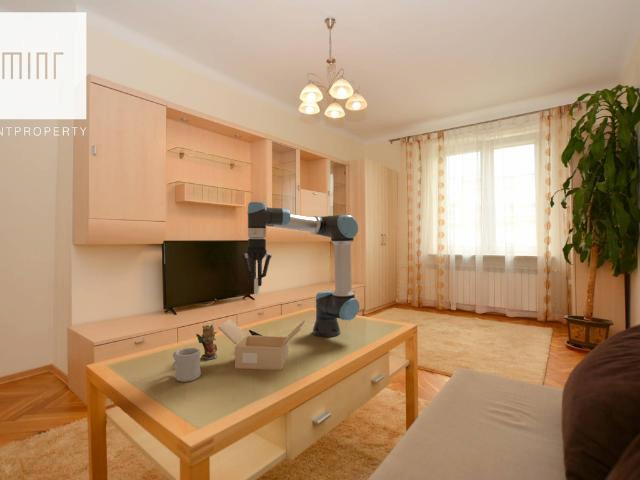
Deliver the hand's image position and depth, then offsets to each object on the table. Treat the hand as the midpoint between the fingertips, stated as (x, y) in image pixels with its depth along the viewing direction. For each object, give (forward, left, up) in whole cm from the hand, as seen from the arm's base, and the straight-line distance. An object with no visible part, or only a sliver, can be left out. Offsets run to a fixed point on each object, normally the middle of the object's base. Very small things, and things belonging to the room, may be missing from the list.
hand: (256, 293), depth 143 cm
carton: (0, +3, -29) cm, 29 cm away
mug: (+17, -23, -30) cm, 41 cm away
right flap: (0, +12, -20) cm, 23 cm away
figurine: (-3, -23, -30) cm, 38 cm away
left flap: (0, -7, -20) cm, 21 cm away
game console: (-17, +1, -30) cm, 34 cm away
